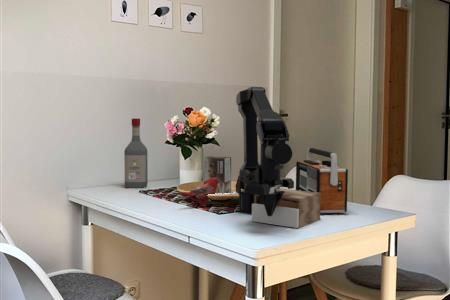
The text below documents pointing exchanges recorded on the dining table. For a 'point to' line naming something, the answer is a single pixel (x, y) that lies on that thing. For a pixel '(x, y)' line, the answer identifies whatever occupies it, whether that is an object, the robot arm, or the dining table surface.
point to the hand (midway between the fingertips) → (269, 216)
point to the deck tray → (276, 215)
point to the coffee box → (218, 172)
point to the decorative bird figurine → (203, 191)
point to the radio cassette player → (324, 181)
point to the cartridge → (288, 203)
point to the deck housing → (301, 204)
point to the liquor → (136, 160)
